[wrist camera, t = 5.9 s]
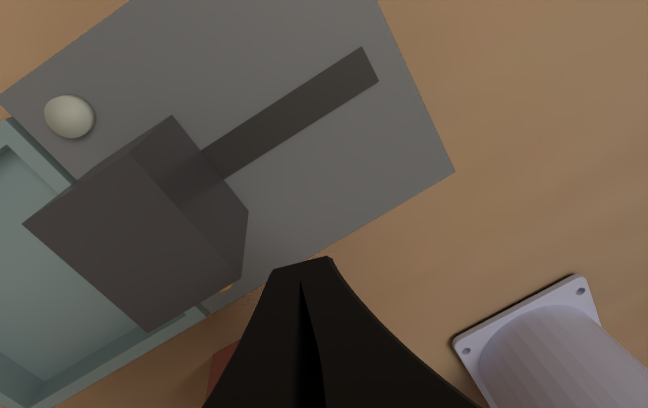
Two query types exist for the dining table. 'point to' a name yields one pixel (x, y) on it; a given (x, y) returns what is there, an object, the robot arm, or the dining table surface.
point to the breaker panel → (249, 112)
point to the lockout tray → (54, 294)
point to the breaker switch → (149, 227)
